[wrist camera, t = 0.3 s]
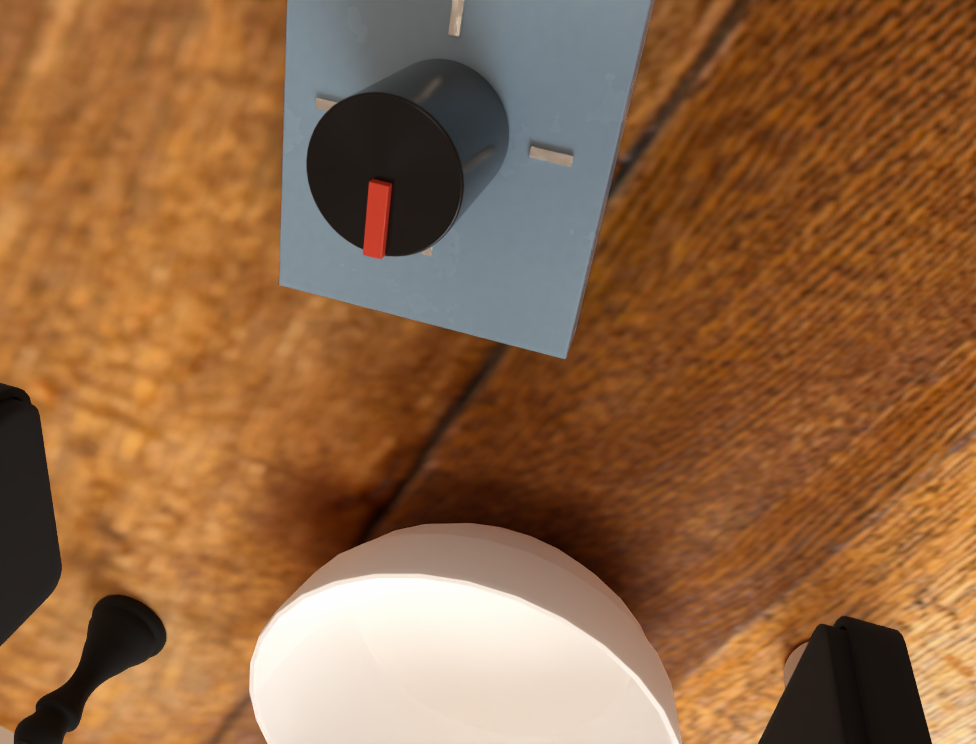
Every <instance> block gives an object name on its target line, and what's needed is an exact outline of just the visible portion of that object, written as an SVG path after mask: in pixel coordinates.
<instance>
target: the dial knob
mask: <svg viewBox="0 0 976 744" xmlns="http://www.w3.org/2000/svg"><path fill="white" fill-rule="evenodd" d="M508 144H509V125H508V119H507V115H506V112H505V109H504V106H503V104H502V101H501V99H500V98H499V96H498V94H497V92H496V91H495V90H494V88H493V87H492V86H491V84H490V83H489V82H488V81H487V80H486V79H485V78H484V77H483V76H481V75H480V74H479V73H478V72H476V71H475V70H473V69H472V68H470V67H468V66H466V65H464V64H462V63H459V62H456V61H452V60H447V59H428V60H423V61H419V62H416V63H414V64H412V65H410V66H408V67H406V68H404V69H402V70H400V71H398V72H396V73H394V74H392V75H390V76H388V77H386V78H384V79H382V80H380V81H378V82H376V83H374V84H372V85H370V86H368V87H366V88H364V89H363V90H361V91H359V92H357V93H355V94H353V95H351V96H349V97H347V98H345V99H343V100H341V101H339V102H338V103H336V104H335V105H334V106H332V107H331V108H330V109H329V110H328V111H327V112H326V113H325V114H324V115H323V116H322V118H321V119H320V120H319V121H318V123H317V125H316V127H315V128H314V130H313V133H312V135H311V138H310V141H309V145H308V149H307V159H306V170H307V178H308V183H309V187H310V191H311V194H312V196H313V199H314V201H315V203H316V205H317V207H318V209H319V211H320V213H321V214H322V215H323V217H324V218H325V220H326V221H327V222H328V224H329V225H330V226H331V227H332V228H333V229H334V230H335V231H336V232H337V233H338V234H339V235H340V236H341V237H343V238H344V239H345V240H347V241H348V242H350V243H351V244H353V245H355V246H356V247H358V248H360V249H363V255H365V256H369V257H373V258H377V259H382V258H383V257H384V256H393V257H399V256H408V255H413V254H417V253H419V252H422V251H425V250H426V249H428V248H430V247H432V246H433V245H435V244H436V243H437V242H439V241H440V240H441V239H442V238H443V237H444V236H445V235H446V234H447V233H448V232H449V231H450V229H451V228H452V227H453V226H454V225H455V224H456V222H457V221H458V220H459V219H460V218H461V216H462V215H463V214H464V213H465V212H466V211H467V209H468V208H469V207H470V206H471V205H472V203H473V202H474V201H475V200H476V199H477V197H478V196H479V195H480V194H481V193H482V192H483V190H484V189H485V188H486V187H487V186H488V184H489V183H490V182H491V181H492V180H493V179H494V177H495V176H496V175H497V173H498V172H499V170H500V168H501V166H502V165H503V162H504V160H505V157H506V154H507V150H508Z"/></svg>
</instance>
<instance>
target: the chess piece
mask: <svg viewBox="0 0 976 744" xmlns="http://www.w3.org/2000/svg"><path fill="white" fill-rule="evenodd" d="M165 642H166V633H165V630H164V627H163V625H162V624H161V622H160V620H159V619H158V618H157V616H156V615H155V614H154V613H153V612H152V611H150V610H149V609H148V608H147V607H145V606H144V605H142V604H141V603H139V602H137V601H135V600H133V599H130V598H127V597H123V596H109V597H105V598H103V599H102V600H100V601H99V602H98V603H97V604H96V606H95V607H94V609H93V613H92V618H91V619H90V621H89V625H88V632H87V639H86V642H85V645H84V648H83V652H82V656H81V660H80V663H79V665H78V667H77V669H76V671H75V672H74V674H73V675H72V677H71V678H70V679H69V680H68V681H67V682H66V683H65V684H64V685H63V686H62V687H60V688H58V689H57V690H55V691H53V692H51V693H49V694H47V695H45V696H43V697H42V698H41V699H40V700H39V701H38V702H37V704H36V712H35V713H34V714H32V715H30V716H28V717H27V718H25V719H23V720H22V721H21V722H20V723H19V724H18V726H17V728H16V730H15V733H14V744H62V743H63V738H64V735H65V734H66V732H70V731H73V730H75V729H76V728H77V726H78V725H79V722H80V720H81V716H82V712H83V708H84V705H85V703H86V701H87V699H88V697H89V696H90V695H91V693H92V692H93V691H94V690H95V689H96V688H97V687H98V686H99V685H100V684H102V683H103V682H104V681H106V680H107V679H109V678H111V677H113V676H115V675H117V674H119V673H121V672H123V671H124V670H126V669H128V668H130V667H132V666H135V665H138V664H141V663H142V662H144V661H146V660H147V659H148V658H150V657H153V656H155V655H156V654H158V653H159V652H160V651H161V650H162V648H163V647H164V645H165Z"/></svg>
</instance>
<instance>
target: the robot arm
mask: <svg viewBox="0 0 976 744" xmlns="http://www.w3.org/2000/svg"><path fill="white" fill-rule="evenodd" d="M61 571H62V564H61V557H60V550H59V543H58V536H57V530H56V523H55V516H54V509H53V502H52V496H51V489H50V482H49V475H48V469H47V462H46V455H45V448H44V441H43V435H42V428H41V421H40V415H39V412H38V409H37V408H36V407H35V406H34V405H32V404H31V401H30V398H29V396H28V394H27V393H26V392H25V391H24V390H22V389H19V388H17V387H13V386H9V385H6V384H2V383H0V646H1V645H2V644H3V643H4V642H5V641H6V640H7V639H8V638H9V637H10V636H11V635H12V634H13V633H14V632H15V631H16V630H17V629H18V628H19V627H20V626H21V625H22V624H23V623H24V622H25V621H26V620H27V618H28V617H29V616H30V615H31V614H32V613H33V612H34V611H35V610H36V609H37V608H38V607H39V606H40V605H41V604H42V603H43V602H44V601H45V600H46V599H47V598H48V597H49V596H50V595H51V593H52V592H53V591H54V589H55V587H56V586H57V584H58V581H59V579H60V576H61ZM758 744H932V742H931V738H930V734H929V731H928V727H927V723H926V719H925V715H924V712H923V708H922V704H921V700H920V697H919V693H918V689H917V685H916V681H915V678H914V674H913V670H912V666H911V662H910V659H909V655H908V651H907V647H906V643H905V641H904V638H903V636H902V634H901V633H900V632H899V631H898V630H895V629H891V628H887V627H884V626H880V625H876V624H873V623H869V622H866V621H862V620H858V619H855V618H851V617H847V616H841V617H840V618H839V619H838V620H837V621H836V623H835V624H834V626H833V627H832V626H828V625H825V624H819V625H818V626H817V627H816V629H815V630H814V632H813V634H812V636H811V638H810V640H809V642H808V644H807V646H806V648H805V650H804V652H803V654H802V656H801V658H800V660H799V662H798V664H797V666H796V668H795V670H794V672H793V674H792V676H791V678H790V680H789V682H788V685H787V687H786V689H785V691H784V693H783V695H782V697H781V699H780V701H779V703H778V705H777V707H776V709H775V711H774V713H773V715H772V717H771V719H770V721H769V723H768V725H767V727H766V729H765V731H764V733H763V735H762V737H761V739H760V741H759V743H758Z"/></svg>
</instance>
